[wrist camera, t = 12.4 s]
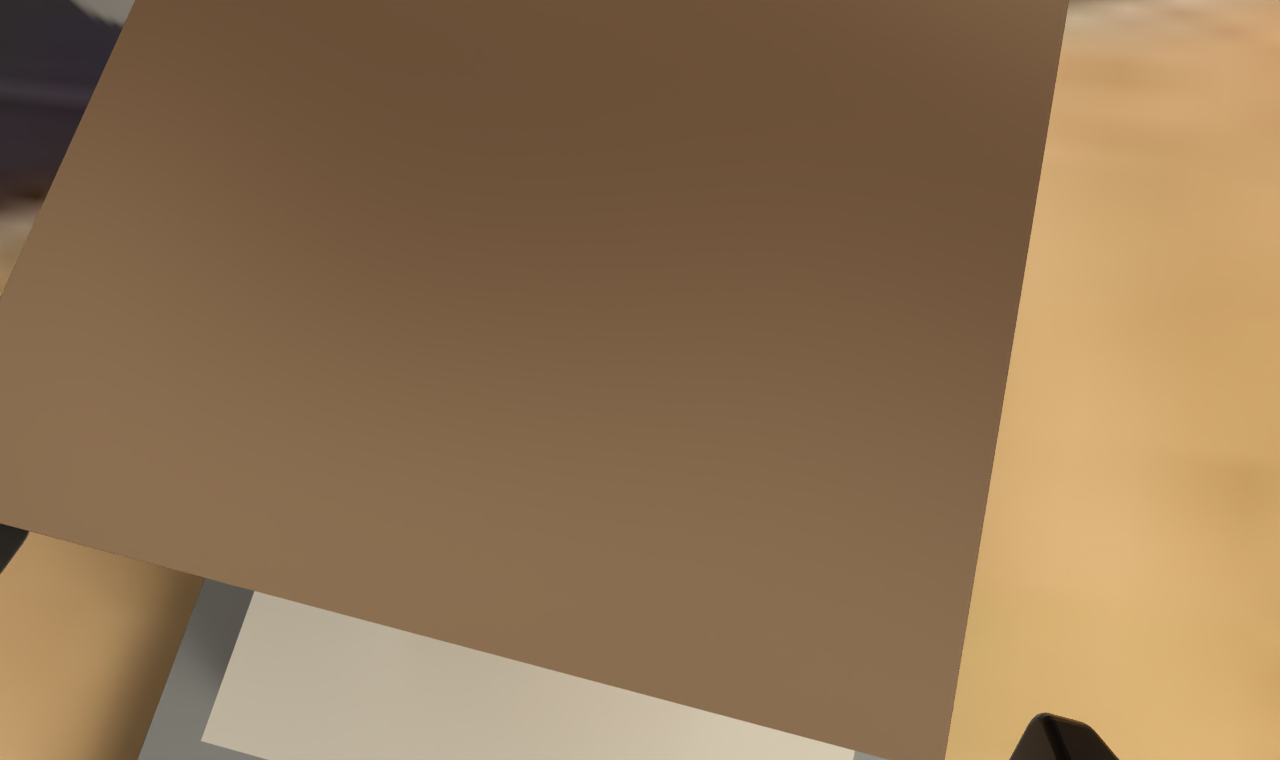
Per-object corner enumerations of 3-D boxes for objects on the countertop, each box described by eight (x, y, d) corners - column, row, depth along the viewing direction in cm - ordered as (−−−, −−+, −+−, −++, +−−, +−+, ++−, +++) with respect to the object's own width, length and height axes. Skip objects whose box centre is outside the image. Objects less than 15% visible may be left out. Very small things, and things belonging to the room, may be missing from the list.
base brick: (828, 1194, 19) (889, 1338, 15) (82, 978, 19) (-58, 1058, 15) (1006, 199, 24) (1086, 103, 20) (420, 54, 25) (383, -68, 21)
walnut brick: (703, 704, 17) (943, 773, 5) (403, 625, 17) (-93, 500, 5) (770, 411, 18) (1086, -110, 6) (491, 341, 18) (270, -297, 6)
